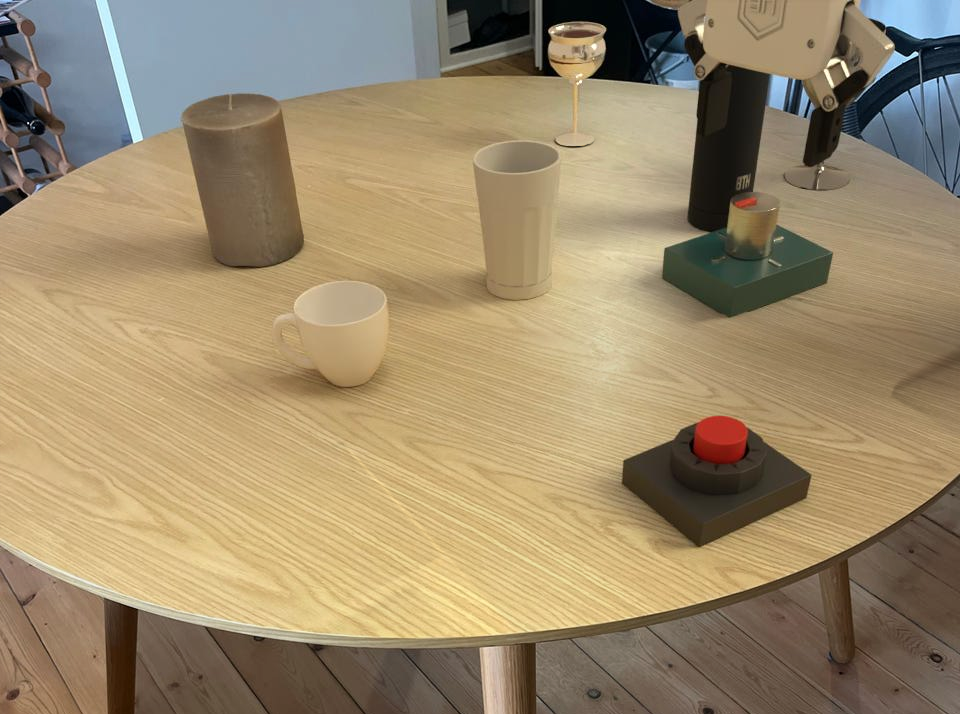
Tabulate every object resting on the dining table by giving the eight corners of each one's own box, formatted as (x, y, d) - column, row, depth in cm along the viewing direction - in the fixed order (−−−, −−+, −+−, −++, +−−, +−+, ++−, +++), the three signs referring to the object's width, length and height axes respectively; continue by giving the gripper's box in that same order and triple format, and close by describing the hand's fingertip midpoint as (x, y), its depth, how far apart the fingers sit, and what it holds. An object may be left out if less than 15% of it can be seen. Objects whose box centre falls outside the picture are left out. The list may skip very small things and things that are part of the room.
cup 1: (394, 395, 86) (385, 322, 82) (276, 402, 86) (260, 329, 82) (395, 349, 92) (387, 277, 87) (284, 355, 92) (270, 284, 87)
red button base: (724, 440, 80) (731, 396, 77) (806, 499, 74) (816, 453, 72) (621, 484, 77) (624, 439, 74) (698, 548, 71) (705, 503, 68)
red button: (721, 430, 75) (724, 409, 73) (755, 454, 72) (758, 433, 71) (682, 446, 73) (685, 425, 72) (715, 471, 71) (718, 450, 70)
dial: (751, 235, 98) (758, 184, 95) (782, 252, 95) (790, 200, 92) (714, 246, 97) (721, 195, 93) (744, 264, 94) (752, 212, 91)
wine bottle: (697, 203, 111) (734, -140, 90) (756, 211, 109) (808, -138, 88) (679, 227, 107) (713, -126, 86) (739, 236, 105) (789, -123, 84)
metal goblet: (869, 180, 114) (903, 28, 103) (815, 197, 111) (844, 43, 100) (818, 158, 118) (846, 11, 108) (765, 174, 116) (788, 25, 105)
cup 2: (464, 278, 101) (457, 152, 93) (534, 258, 103) (533, 134, 95) (502, 311, 96) (498, 181, 87) (575, 290, 98) (578, 161, 90)
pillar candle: (277, 220, 113) (249, 71, 102) (321, 250, 107) (297, 95, 96) (196, 246, 109) (159, 94, 98) (238, 278, 103) (203, 120, 92)
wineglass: (575, 154, 122) (578, 42, 114) (535, 140, 126) (535, 31, 117) (613, 138, 125) (619, 28, 117) (573, 125, 129) (576, 18, 121)
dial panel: (755, 245, 103) (760, 214, 101) (827, 282, 97) (834, 250, 95) (661, 277, 99) (664, 246, 97) (729, 318, 93) (734, 286, 91)
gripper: (662, -130, 70) (643, 134, 82) (895, -103, 61) (835, 190, 73) (727, -147, 73) (699, 109, 85) (956, -124, 64) (889, 158, 76)
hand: (762, 146), depth 79 cm, fingers open, 9 cm apart
